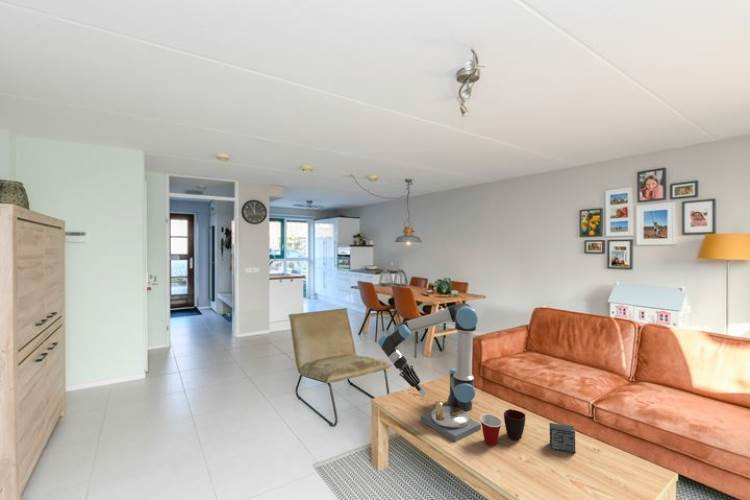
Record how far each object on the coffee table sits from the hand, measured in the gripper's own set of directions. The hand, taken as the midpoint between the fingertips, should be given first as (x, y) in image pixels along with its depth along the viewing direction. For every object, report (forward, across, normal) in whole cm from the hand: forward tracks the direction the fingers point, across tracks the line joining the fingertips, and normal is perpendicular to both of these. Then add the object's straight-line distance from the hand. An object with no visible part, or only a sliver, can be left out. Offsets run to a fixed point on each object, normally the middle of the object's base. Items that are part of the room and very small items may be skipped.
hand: (424, 394), depth 193 cm
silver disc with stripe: (+18, -8, -1) cm, 20 cm away
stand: (+20, -8, -4) cm, 22 cm away
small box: (+59, -15, +35) cm, 70 cm away
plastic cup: (+37, -2, +13) cm, 39 cm away
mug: (+44, -15, +20) cm, 50 cm away
